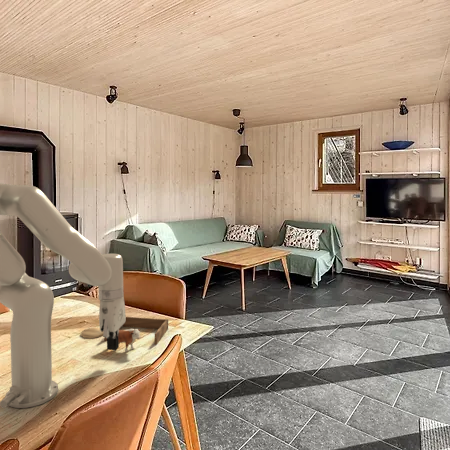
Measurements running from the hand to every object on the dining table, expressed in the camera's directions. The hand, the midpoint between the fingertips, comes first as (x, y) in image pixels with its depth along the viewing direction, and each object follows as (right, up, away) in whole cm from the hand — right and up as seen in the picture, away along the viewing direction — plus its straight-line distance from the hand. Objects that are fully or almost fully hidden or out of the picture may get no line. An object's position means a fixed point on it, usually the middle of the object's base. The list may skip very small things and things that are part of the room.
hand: (113, 348), depth 116 cm
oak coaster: (-15, -3, +24) cm, 29 cm away
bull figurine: (+1, -4, +11) cm, 12 cm away
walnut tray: (+2, -3, +24) cm, 25 cm away
